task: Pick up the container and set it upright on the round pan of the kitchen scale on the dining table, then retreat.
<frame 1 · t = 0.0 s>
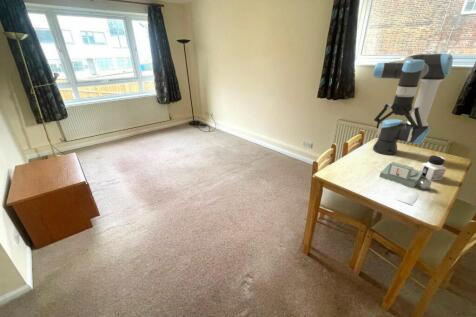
hand: (392, 137, 115), 28 cm above the table, fingers open, 13 cm apart
container: (429, 177, 131), on the table
scale: (400, 176, 133), on the table
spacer: (423, 188, 122), on the table
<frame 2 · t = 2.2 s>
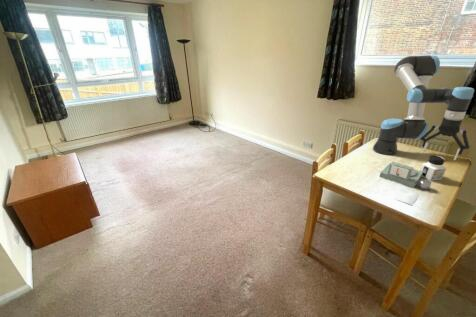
hand: (438, 155, 125), 14 cm above the table, fingers open, 13 cm apart
nothing on the table moved.
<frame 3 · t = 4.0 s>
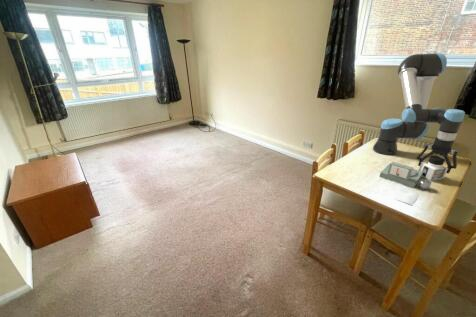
hand: (431, 174, 130), 2 cm above the table, fingers closed on container, 10 cm apart
container: (429, 177, 131), on the table, touching gripper
everything else where it was.
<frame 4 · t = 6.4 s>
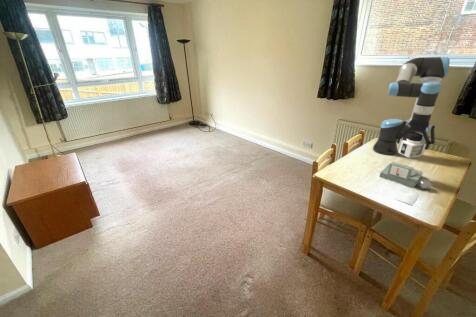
hand: (410, 151, 127), 16 cm above the table, fingers closed on container, 10 cm apart
container: (408, 154, 128), point 14 cm above the table, touching gripper
everything else where it was.
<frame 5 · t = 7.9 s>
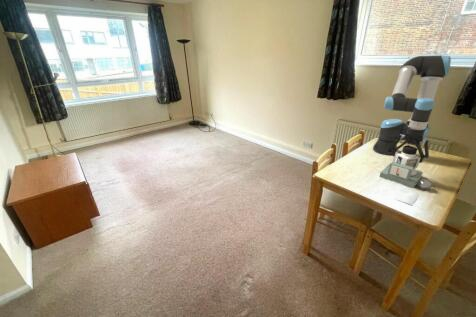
hand: (405, 164, 130), 8 cm above the table, fingers closed on container, 10 cm apart
container: (404, 167, 131), point 6 cm above the table, touching gripper
everything else where it was.
when the fingers open (7 cm above the table, at t = 8.9 s): container drops 1 cm, resting on scale.
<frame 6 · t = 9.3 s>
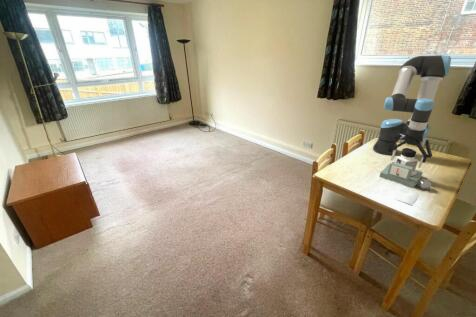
hand: (405, 163, 130), 8 cm above the table, fingers open, 13 cm apart
container: (403, 169, 132), point 4 cm above the table, touching scale
everything else where it was.
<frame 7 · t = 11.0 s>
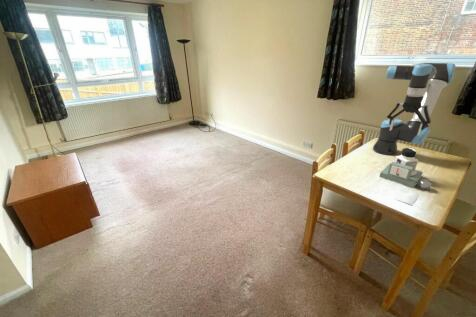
hand: (404, 132, 130), 25 cm above the table, fingers open, 13 cm apart
nothing on the table moved.
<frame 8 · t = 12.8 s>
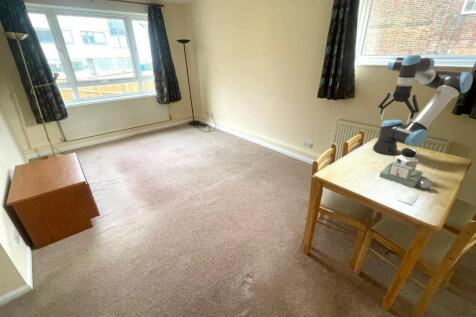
hand: (394, 121, 135), 29 cm above the table, fingers open, 13 cm apart
nothing on the table moved.
at the end: container inside the target area on the scale (0.0 cm from its centre), point 3.8 cm above the scale's base; container tilted 0°; the gripper is holding nothing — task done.
